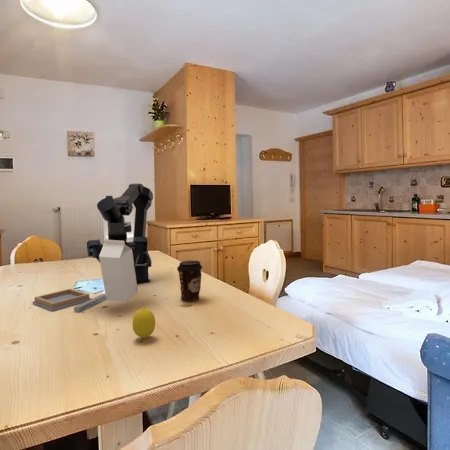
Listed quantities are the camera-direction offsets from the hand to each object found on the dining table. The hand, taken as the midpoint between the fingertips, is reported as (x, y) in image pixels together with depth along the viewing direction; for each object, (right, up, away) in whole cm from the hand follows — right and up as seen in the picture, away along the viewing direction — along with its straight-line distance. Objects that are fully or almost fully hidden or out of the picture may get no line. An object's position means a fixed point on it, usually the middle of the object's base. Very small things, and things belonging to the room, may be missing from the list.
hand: (119, 267), depth 106 cm
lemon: (+13, -15, -21) cm, 29 cm away
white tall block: (-24, -7, +79) cm, 83 cm away
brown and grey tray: (-22, -13, +9) cm, 27 cm away
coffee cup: (+21, -12, +9) cm, 26 cm away
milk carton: (0, -9, +2) cm, 10 cm away
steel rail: (-11, -13, +6) cm, 18 cm away
